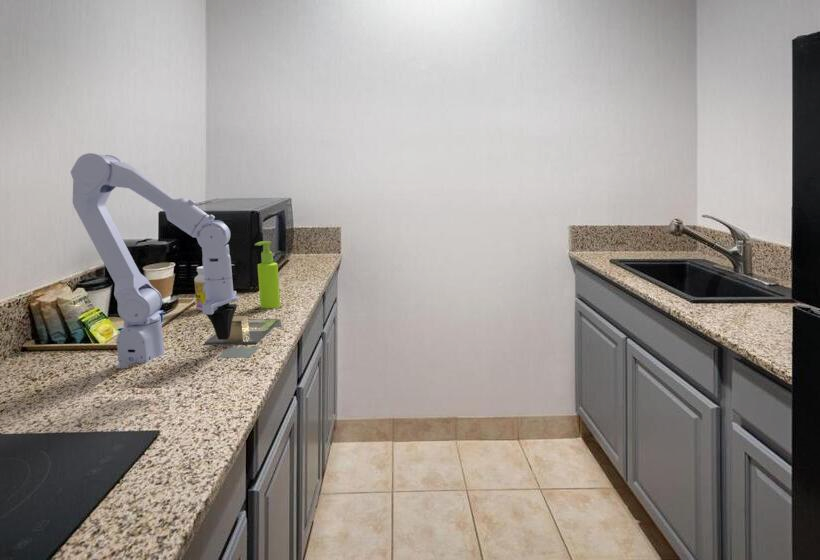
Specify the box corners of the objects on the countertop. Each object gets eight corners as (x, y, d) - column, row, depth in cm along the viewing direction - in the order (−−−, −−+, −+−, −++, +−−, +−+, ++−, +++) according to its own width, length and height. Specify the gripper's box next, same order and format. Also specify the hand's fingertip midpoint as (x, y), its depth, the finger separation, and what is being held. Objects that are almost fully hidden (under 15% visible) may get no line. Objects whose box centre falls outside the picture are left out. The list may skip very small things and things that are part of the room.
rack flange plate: (257, 350, 125) (256, 341, 124) (205, 350, 125) (204, 342, 125) (281, 326, 144) (280, 319, 144) (236, 326, 145) (235, 319, 145)
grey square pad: (250, 364, 115) (249, 357, 115) (217, 364, 116) (216, 357, 115) (260, 353, 122) (260, 347, 122) (229, 353, 123) (229, 347, 122)
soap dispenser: (253, 308, 166) (249, 242, 162) (269, 303, 172) (265, 239, 168) (268, 310, 163) (264, 243, 159) (284, 305, 169) (280, 240, 165)
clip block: (242, 339, 126) (241, 320, 125) (223, 339, 126) (221, 321, 125) (249, 334, 131) (247, 315, 130) (230, 334, 131) (229, 316, 130)
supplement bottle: (196, 307, 168) (192, 266, 166) (218, 305, 171) (215, 264, 168) (197, 312, 162) (193, 269, 160) (221, 309, 165) (217, 267, 162)
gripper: (223, 284, 111) (229, 348, 113) (247, 271, 125) (252, 329, 127) (189, 284, 111) (196, 348, 113) (217, 272, 125) (222, 329, 128)
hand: (223, 338), depth 120 cm, fingers closed
